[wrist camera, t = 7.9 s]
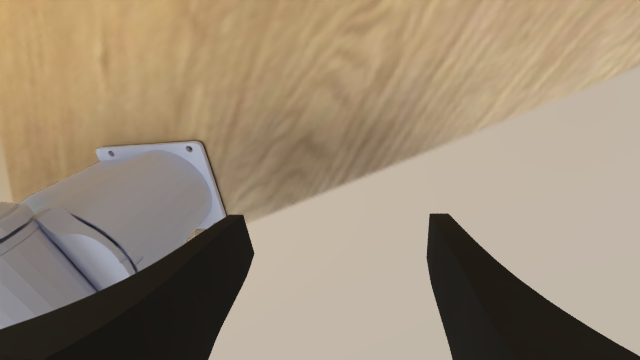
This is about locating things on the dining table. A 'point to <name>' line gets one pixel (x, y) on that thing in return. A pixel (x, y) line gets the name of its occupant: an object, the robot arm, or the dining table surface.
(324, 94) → the dining table surface
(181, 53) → the dining table surface
